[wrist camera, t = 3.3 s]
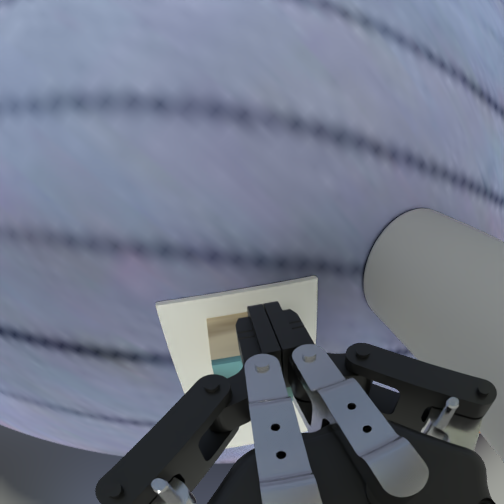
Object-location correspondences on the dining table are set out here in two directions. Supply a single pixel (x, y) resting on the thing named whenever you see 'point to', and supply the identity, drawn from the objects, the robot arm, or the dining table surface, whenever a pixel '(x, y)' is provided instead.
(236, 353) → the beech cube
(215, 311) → the cream mat
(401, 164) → the dining table surface
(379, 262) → the cylinder vase
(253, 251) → the dining table surface
